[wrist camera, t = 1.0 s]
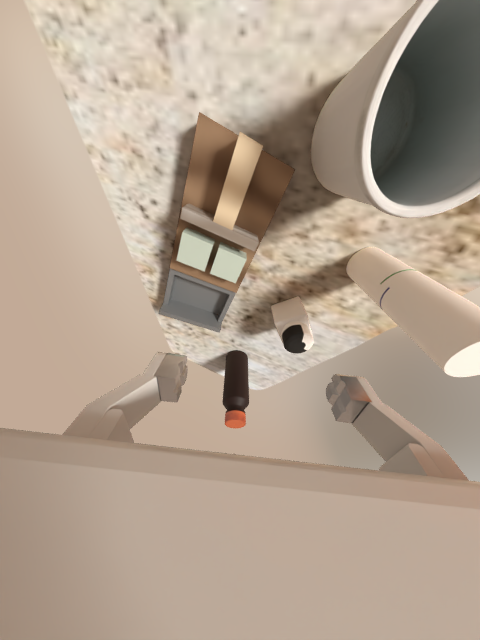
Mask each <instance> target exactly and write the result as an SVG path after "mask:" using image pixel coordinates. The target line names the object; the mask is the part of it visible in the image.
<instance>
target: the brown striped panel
mask: <svg viewBox="0 0 480 640" xmlns="http://www.w3.org/2000/svg"><path fill="white" fill-rule="evenodd" d="M237 140H238V135H237V134H235V133H233V132H232V131H230V130H228V129H227V128H225V127H223V126H222V125H220V124H218V123H217V122H215V121H213V120H212V119H210V118H208V117H207V116H205V115H203V114H202V113H200V112H199V116H198V121H197V126H196V132H195V137H194V142H193V147H192V153H191V158H190V163H189V168H188V174H187V179H186V184H185V189H184V195H183V200H182V205H181V210H180V216H179V221H178V226H177V231H176V237H175V242H174V247H173V252H172V257H171V263H170V268H171V269H174V270H176V271H179V272H182V273H184V274H187V275H190V276H192V277H195V278H198V279H200V280H203V281H206V282H209V283H211V284H214V285H217V286H219V287H222V288H225V289H227V290H230V291H233V292H235V293H236V292H237V290H238V288H239V286H240V284H241V282H242V280H243V278H244V276H245V274H246V272H247V269H248V267H249V265H250V263H251V261H252V259H253V257H254V255H255V253H256V251H257V249H258V246H259V244H260V242H261V240H262V238H263V236H264V234H265V232H266V230H267V228H268V226H269V223H270V221H271V219H272V217H273V215H274V213H275V211H276V209H277V207H278V205H279V203H280V200H281V198H282V196H283V194H284V192H285V190H286V188H287V186H288V184H289V182H290V179H291V177H292V175H293V173H294V171H295V169H294V168H292V167H290V166H289V165H287V164H285V163H283V162H282V161H280V160H278V159H277V158H275V157H273V156H272V155H270V154H268V153H267V152H265V151H263V150H262V151H261V154H260V156H259V159H258V162H257V164H256V167H255V170H254V173H253V175H252V178H251V181H250V183H249V186H248V189H247V192H246V194H245V197H244V200H243V202H242V205H241V208H240V210H239V213H238V216H237V219H236V221H235V224H234V225H236V226H238V227H240V228H242V229H245V230H247V231H249V232H251V233H253V234H255V235H257V236H258V240H259V244H258V246H257V248H256V250H255V251H252V250H250V249H248V248H246V247H243V246H241V245H239V244H237V243H234V242H232V241H230V240H227V239H225V238H223V237H221V236H218V235H216V234H214V233H212V232H209V231H207V230H205V229H203V228H200V227H198V226H196V225H194V224H191V223H189V222H187V221H185V220H182V219H180V217H181V212H182V207H184V206H185V205H187V204H191V205H193V206H195V207H198V208H200V209H202V210H204V211H206V212H208V213H210V214H212V215H215V213H216V210H217V207H218V203H219V200H220V197H221V193H222V190H223V187H224V183H225V180H226V177H227V173H228V170H229V167H230V163H231V160H232V157H233V153H234V150H235V146H236V143H237ZM187 227H188V228H190V229H192V230H195V231H197V232H199V233H201V234H204V235H206V236H208V237H211V238H213V239H215V242H214V245H213V248H212V251H211V254H210V257H209V260H208V263H207V266H206V269H205V272H204V271H202V270H199V269H197V268H194V267H191V266H189V265H186V264H184V263H181V262H178V261H176V260H177V255H178V251H179V246H180V241H181V236H182V232H183V231H184V230H185V229H186V228H187ZM220 242H222V243H224V244H227V245H229V246H231V247H234V248H236V249H238V250H240V251H243V252H245V253H246V255H247V260H246V262H245V264H244V266H243V269H242V271H241V273H240V275H239V277H238V279H237V282H236V283H233V282H230V281H228V280H225V279H223V278H220V277H217V276H215V275H212V274H210V272H211V268H212V265H213V262H214V260H215V257H216V254H217V251H218V248H219V245H220Z"/></svg>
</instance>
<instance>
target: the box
mask: <svg viewBox="0 0 480 640" xmlns="http://www.w3.org/2000/svg"><path fill="white" fill-rule="evenodd" d="M235 294H236V293H235V292H233V291H230V290H227V289H225V288H222V287H219V286H217V285H214V284H211V283H209V282H206V281H203V280H200V279H198V278H195V277H192V276H190V275H187V274H184V273H182V272H179V271H176V270H174V269H171V268H170V271H169V276H168V281H167V287H166V292H165V297H164V302H163V305H162V307H161V308H160V310H159V314H161V315H164V316H168V317H171V318H174V319H177V320H181V321H184V322H187V323H190V324H193V325H197V326H200V327H203V328H206V329H210V330H213V331H216V332H220V330H221V324H222V321H223V319H224V317H225V315H226V312H227V310H228V308H229V306H230V304H231V302H232V300H233V298H234V296H235Z"/></svg>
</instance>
